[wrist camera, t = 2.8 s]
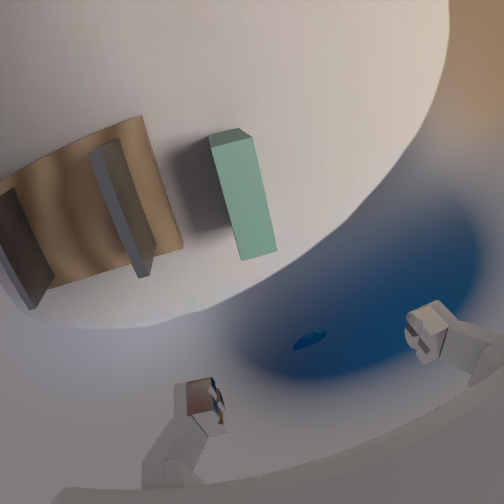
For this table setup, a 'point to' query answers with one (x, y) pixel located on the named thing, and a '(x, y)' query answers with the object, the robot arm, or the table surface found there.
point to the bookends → (121, 210)
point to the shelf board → (90, 204)
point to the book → (243, 192)
